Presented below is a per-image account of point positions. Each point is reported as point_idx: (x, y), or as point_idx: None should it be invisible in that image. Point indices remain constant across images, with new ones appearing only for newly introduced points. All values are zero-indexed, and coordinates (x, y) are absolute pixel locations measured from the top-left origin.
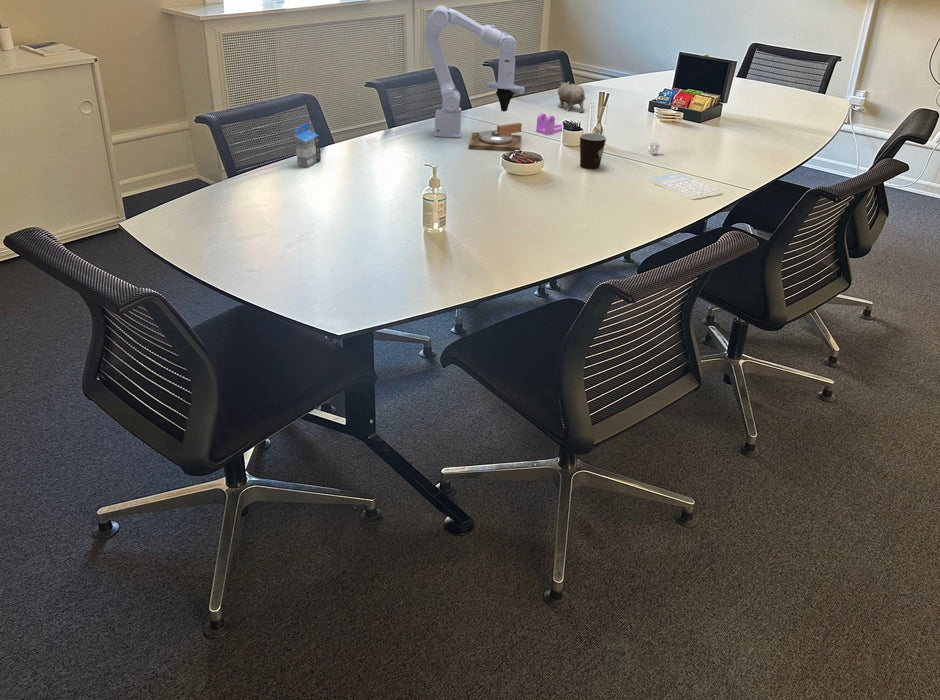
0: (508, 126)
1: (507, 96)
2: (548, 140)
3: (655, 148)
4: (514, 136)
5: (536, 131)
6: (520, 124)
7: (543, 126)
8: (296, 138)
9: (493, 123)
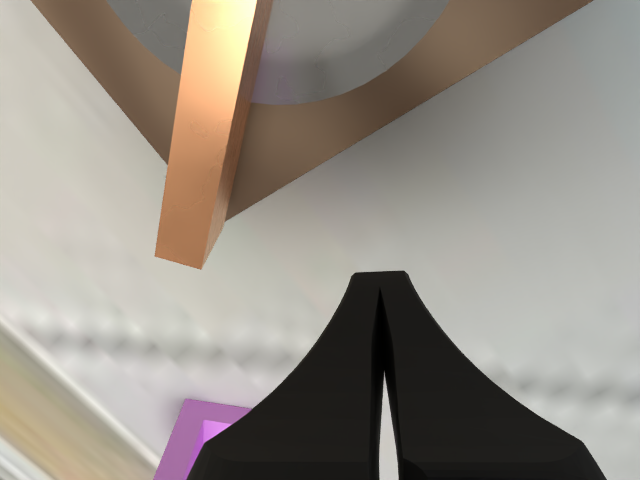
0: (183, 73)
1: (222, 434)
2: (91, 314)
3: None
4: None
5: None
6: (159, 238)
7: None
8: None
9: (627, 409)
